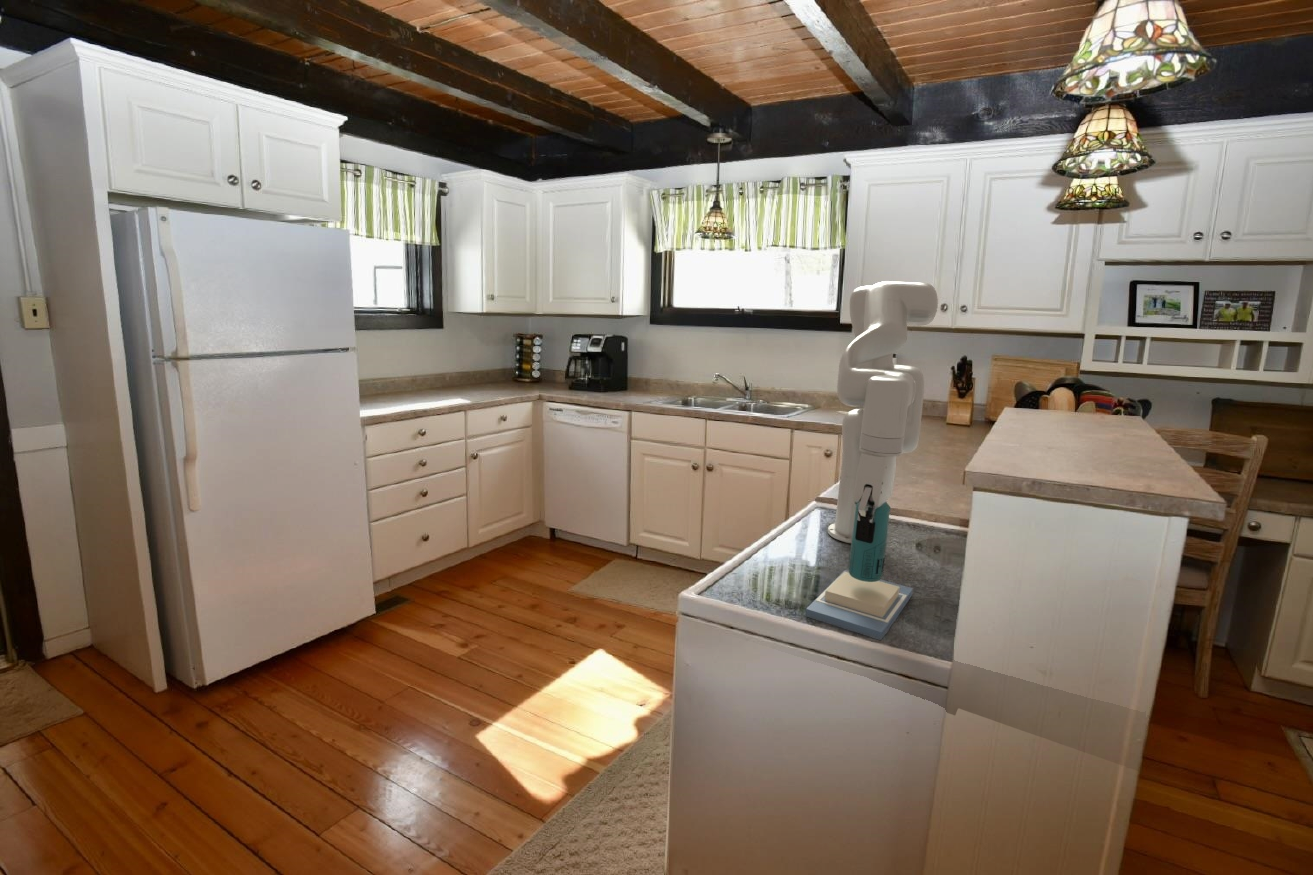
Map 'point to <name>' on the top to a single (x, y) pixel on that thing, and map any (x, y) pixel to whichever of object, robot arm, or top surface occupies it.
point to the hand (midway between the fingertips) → (869, 534)
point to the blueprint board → (856, 618)
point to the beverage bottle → (870, 548)
